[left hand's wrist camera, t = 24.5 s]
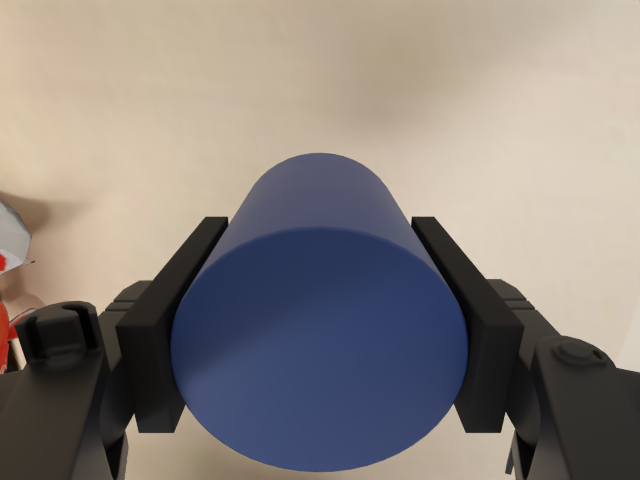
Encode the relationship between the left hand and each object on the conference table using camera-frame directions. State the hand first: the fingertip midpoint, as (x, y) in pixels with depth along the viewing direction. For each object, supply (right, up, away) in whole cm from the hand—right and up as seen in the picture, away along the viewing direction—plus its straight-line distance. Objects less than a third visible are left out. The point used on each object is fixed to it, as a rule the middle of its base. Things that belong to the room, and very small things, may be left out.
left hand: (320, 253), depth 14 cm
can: (0, +1, +2) cm, 2 cm away
